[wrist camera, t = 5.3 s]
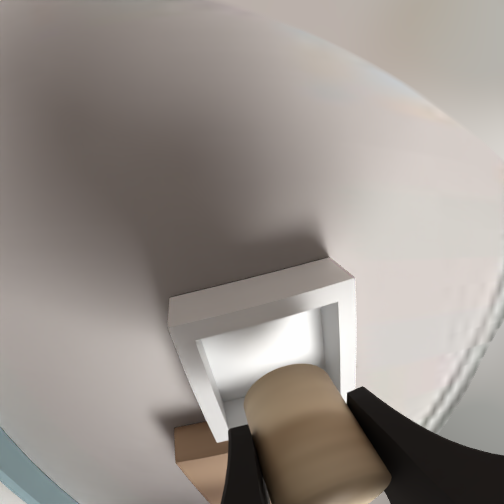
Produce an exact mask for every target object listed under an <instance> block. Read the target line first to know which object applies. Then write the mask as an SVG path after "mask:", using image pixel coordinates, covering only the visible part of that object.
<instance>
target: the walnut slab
mask: <svg viewBox="0 0 504 504" xmlns="http://www.w3.org/2000/svg"><path fill="white" fill-rule="evenodd" d="M174 439H175V461H176V464H177V465H178V466H179V468H180V469H181V470H182V471H183V473H184V474H185V475H186V476H187V478H188V479H189V480H190V481H191V482H192V484H193V485H194V486H195V487H196V488H197V489H198V491H199V492H200V493H201V494H202V495H203V496H204V497H205V498H206V500H207V501H208V502H209V503H210V504H221V499H222V495H223V490H224V484H225V477H226V470H227V461H228V440H227V441H223V442H218V443H217V442H216V440H215V438H214V436H213V434H212V432H211V429H210V427H209V425H208V423H207V421H206V422H201V423H196V424H192V425H186V426H181V427H176V428H174ZM270 502H271V501H270Z"/></svg>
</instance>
